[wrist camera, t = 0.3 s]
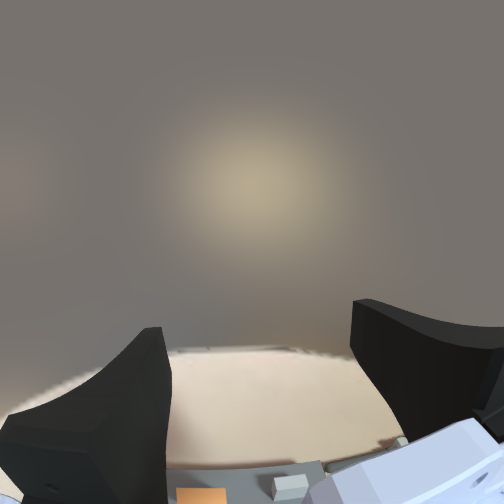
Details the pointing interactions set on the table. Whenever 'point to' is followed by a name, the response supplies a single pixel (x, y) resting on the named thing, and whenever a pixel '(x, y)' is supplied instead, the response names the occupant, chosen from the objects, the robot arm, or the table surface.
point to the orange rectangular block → (201, 496)
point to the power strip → (251, 483)
